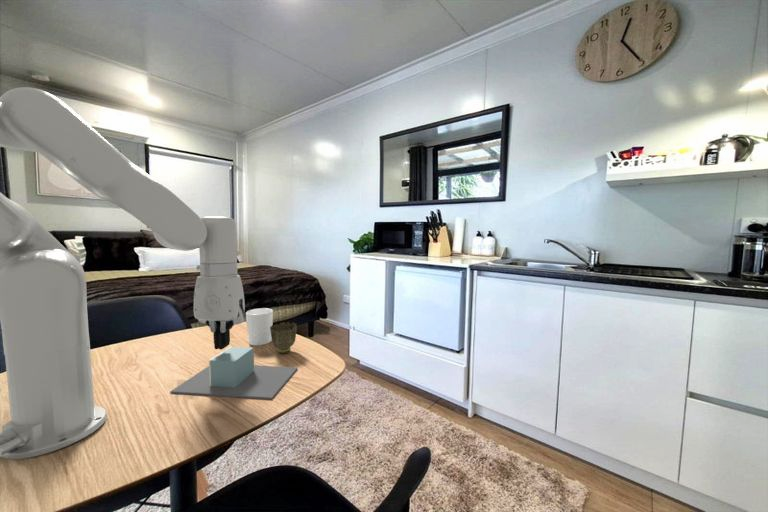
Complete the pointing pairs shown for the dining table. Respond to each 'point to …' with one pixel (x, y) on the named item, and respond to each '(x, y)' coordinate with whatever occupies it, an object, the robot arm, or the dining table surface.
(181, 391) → the rubber mat
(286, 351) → the cup
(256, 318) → the white cup
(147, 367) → the dining table surface
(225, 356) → the teal block
